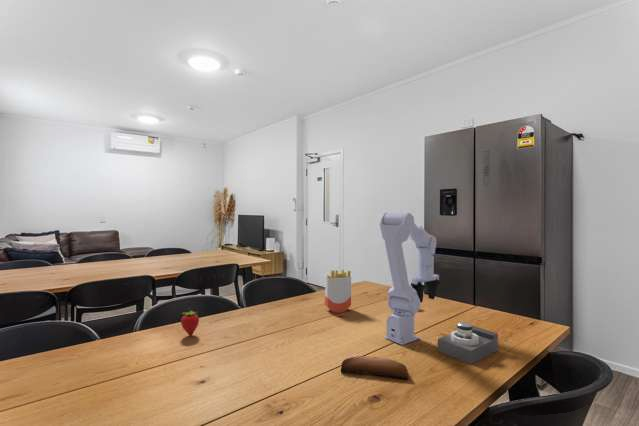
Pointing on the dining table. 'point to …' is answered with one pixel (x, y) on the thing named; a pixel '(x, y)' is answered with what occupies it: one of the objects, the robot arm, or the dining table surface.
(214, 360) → the dining table surface
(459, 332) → the lens
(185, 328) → the strawberry
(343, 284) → the french fries container
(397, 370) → the sunglasses case
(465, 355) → the camera body
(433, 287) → the robot arm
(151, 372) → the dining table surface
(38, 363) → the dining table surface
